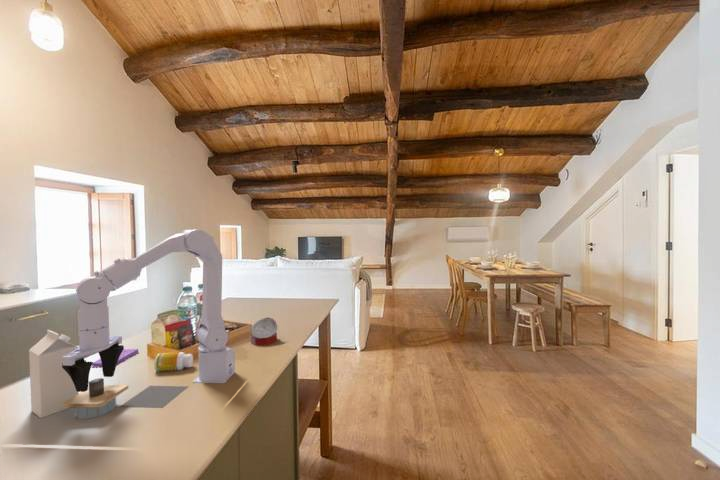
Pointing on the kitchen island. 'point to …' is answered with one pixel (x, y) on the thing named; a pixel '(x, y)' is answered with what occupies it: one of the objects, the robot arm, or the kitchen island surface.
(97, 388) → the oak lid
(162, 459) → the kitchen island surface
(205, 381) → the robot arm
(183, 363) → the supplement bottle
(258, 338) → the canned food
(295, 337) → the kitchen island surface
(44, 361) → the milk carton
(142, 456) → the kitchen island surface
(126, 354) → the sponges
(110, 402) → the ceramic bowl
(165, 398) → the rubber mat
